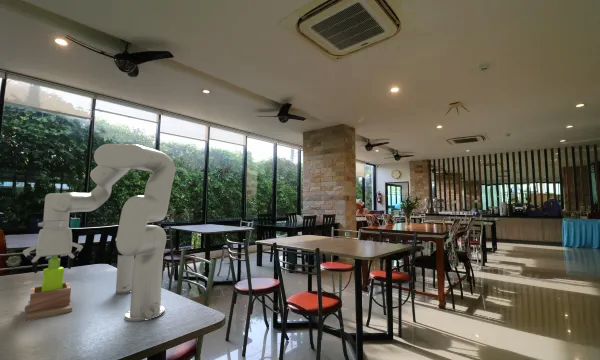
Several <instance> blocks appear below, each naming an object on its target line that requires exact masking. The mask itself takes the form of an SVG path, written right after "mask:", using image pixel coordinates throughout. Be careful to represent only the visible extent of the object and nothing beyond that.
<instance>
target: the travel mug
mask: <svg viewBox="0 0 600 360" xmlns="http://www.w3.org/2000/svg"><path fill="white" fill-rule="evenodd" d="M117 251H118V250H117ZM134 259H135V256H125V255H122V254H121V253H120V252H119V251H118V252H117V264H116V265H117V269H116V280H115V281H116V282H115V294H116V295H126V294H125V293H127V294H129V293H128V292H130V291H131V287H132V271H133V262H134ZM130 293H131V292H130Z"/></svg>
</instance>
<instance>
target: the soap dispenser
mask: <svg viewBox="0 0 600 360" xmlns="http://www.w3.org/2000/svg"><path fill="white" fill-rule="evenodd" d="M47 266H48V267H47V268H43V270H42V271H43V272H42V283H41V286H42V292H45V291H52V290H58V289H62V285H63V283H64V272H65V269H64V268H65V267H63V266H61V258H59V255H55V256H51V258H50V259H48V265H47Z"/></svg>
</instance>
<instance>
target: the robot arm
mask: <svg viewBox="0 0 600 360" xmlns="http://www.w3.org/2000/svg"><path fill="white" fill-rule="evenodd" d="M93 159H94V162H95V164H96V165H97V166H95V167H94V168H93V169H92V170H91V172H90V174H89V175H90V178H91V180H92V181H93V182H94V184H95V185H96V187H94V188H93V189H92V190H91V191H90V192H71V191H69V192H62V193H58V192H57V193H52V192H51V193H47V194H46V195H45V197H44V209H43V221H41V222H38V223H37V227H40V228H42V229H40V230H39V231H38V237H37V242H36V244H35V245H32V246H30V247H28V248H26V249H24V250H23V251H22V254H23V255H24V256H25V258H26V259H27V260H29V261H30V262H31V264H32V266H31V272H34V273H33V274H37V273H38V265H39V261H38V260H39V259H40V258H42V257H52V256H55V255H58V256H64V255H67V256H68V258H67V259H68V260H67V270H71V269H72V268H71V267H74V258H75V257H76V256H78V255H79V254H80V252H81V251H82V249H83V248H84V246H83V245H82V244H79V243H76V242H73V232H72V228H71V227H70V226H69V224H70V213H79V212H81V213H82V212H83V213H84V212H85V213H87V212H93V211H95V210H96V209H98V208H100V207H101V206H102V205H103V204H104V203H105V202H106V201H107V200H108V199H109V198H110V197H111V194H112V190H113V188H112V187H113V186H114V185H115V184H116V182H118V181H119V180H120V179H121V178H122V177H123V176H125V174H127V173H128V172H129V171H131V169H133V170H139V171H144V172H145V171H146V172H151V173H152V174H151V175H150V176H149V177H148V180H147V181H146V185H145V191H144V193H143V195H141V194H140V195H139V194H138V195H134V196H132V197H130V198H129V199H127V200H126V202H125V203H124V205H123V206H122V209H121V213H120V219H119V222H118V224H119V225H118V228H117V233H116V240H115V241H116V243H115V245H116V248H117V251H119V252H120V253H121V254H122V255H125V256H134V262H133V271H132V287H131V292H130V307H129V310H128V311H126V312H125V314H124V320H126V321H128V320H129V322H140V321H139V320H145V319H150V318H153V317H156V316H158V315H160V314H162V313H163V312H164V311H165V312H166V307H165V306H163V305H161V303H162V302H161V300H162V281H163V280H162V279H163V262H164V261H163V259H164V253H165V248H166V244H167V234H166V231H165V230H164V228H162V227H161V226H159V225H154V224H148V223H157V222H161V221H162V220H164V219H165V218H166V216H167V215H168V214H167V213H168V209H169V205H170V200H171V199H170V197H171V193H172V186H173V182H174V180H175V174H176V165H175V162H174V160H173V158H171V156H170V155H168V154H167V153H164V151H163V152H162V151H160V150H158V149H154V148H152V147H147V146H143V145H140V144H134V143H105V144H104V143H103V144H102V145H100V146H99V147H98V148H96V150H95V151H94V153H93ZM73 247H75V248H77V249H76V250H75V251H74V252H72V249H73ZM32 251H35V256H33V255H31V254H30V252H32ZM165 312H164V313H165ZM164 313H163V314H164ZM163 314H162V315H163ZM150 320H151V319H150ZM145 321H146V320H145Z"/></svg>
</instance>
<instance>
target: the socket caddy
mask: <svg viewBox="0 0 600 360" xmlns="http://www.w3.org/2000/svg"><path fill="white" fill-rule="evenodd" d="M71 291H72V288H71V285H70V282H68V281H67V282H63V285H62V289H58V290H52V291H45V292H42V285H38V286H32V287H30V297H29V298H30V299H29V300H28V303H27V308H26V309H27V310H26V318H25V321H26V322H28V321H32V320H33V321H34V320H36V319H37V320H38V319H42V318H48V317H51V316H52V317H53V316H57V315H62V314H67V313H72V312H73V305H72V302H71Z"/></svg>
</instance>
